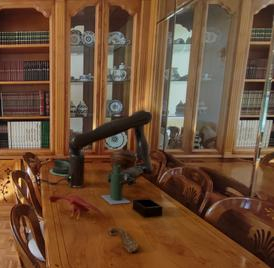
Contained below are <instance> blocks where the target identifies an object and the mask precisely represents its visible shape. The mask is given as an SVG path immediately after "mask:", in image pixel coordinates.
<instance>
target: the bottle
mask: <svg viewBox="0 0 274 268" xmlns="http://www.w3.org/2000/svg"><path fill="white" fill-rule="evenodd" d="M120 170H121V166H120V165H114V171H112V170H111V171H110V174H111V182H110V183H109V184H110V187H109V189H110V190H109V195H110V198H111V199H113V200H121V199H122V196H123V190H124V189H123V186H124V185H122V186H120V185H119V184H120V181H122V180H123V173H122V172H120Z"/></svg>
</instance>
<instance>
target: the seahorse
mask: <svg viewBox="0 0 274 268" xmlns="http://www.w3.org/2000/svg"><path fill="white" fill-rule="evenodd" d="M116 231H117V232H119V233H121V235H122V238H123V243H124V244H125V245H124V244H122V245H121V247H123V248H125V250H126V251H127V252H128V253H130V254H131V253H133V252H137V251H138V248H139V247H138V246H139V245H138V243H137V242H136V241H134V240H133V239H132V238H131V237H130V236H129V234H127V232H126V231H125V229H123V228H121V227H118V226H117V227H111V228H110V229H109V230H108V234H109V235H110V236H115V235H116Z"/></svg>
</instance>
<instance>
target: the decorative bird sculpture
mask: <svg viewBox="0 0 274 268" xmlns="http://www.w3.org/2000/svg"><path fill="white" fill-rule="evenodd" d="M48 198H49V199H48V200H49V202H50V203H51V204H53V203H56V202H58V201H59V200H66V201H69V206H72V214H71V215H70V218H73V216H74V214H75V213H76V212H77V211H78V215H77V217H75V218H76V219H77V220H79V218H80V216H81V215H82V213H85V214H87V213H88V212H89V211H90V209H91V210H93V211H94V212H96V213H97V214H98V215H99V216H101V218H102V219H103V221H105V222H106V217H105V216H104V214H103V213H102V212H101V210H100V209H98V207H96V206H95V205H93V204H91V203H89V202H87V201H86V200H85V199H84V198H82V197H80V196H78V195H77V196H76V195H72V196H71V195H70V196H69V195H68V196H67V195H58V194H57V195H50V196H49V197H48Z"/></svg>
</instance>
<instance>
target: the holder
mask: <svg viewBox="0 0 274 268" xmlns="http://www.w3.org/2000/svg"><path fill="white" fill-rule="evenodd" d="M132 210H133V211H135V212H136V213H137V214H139V215H140V216H141V217H143V218H144V219H145V218H152V217H153V218H155V217H161V216H163V206H162V205H161V204H159V203H157V202H156V201H154V200H153V199H151V198H141V199H133V200H132Z"/></svg>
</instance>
